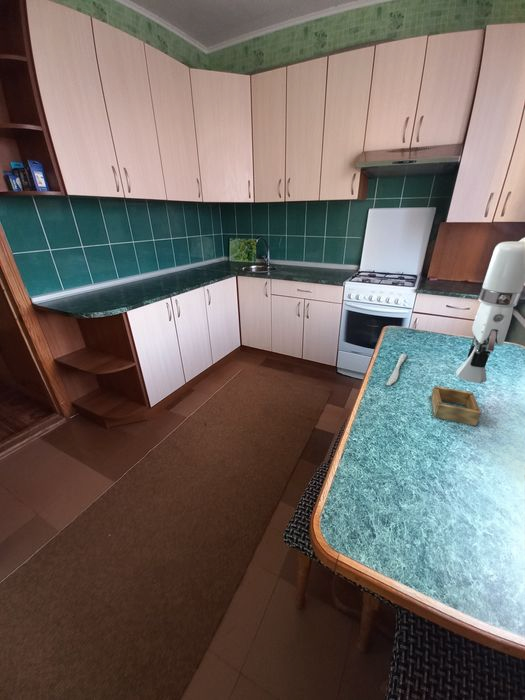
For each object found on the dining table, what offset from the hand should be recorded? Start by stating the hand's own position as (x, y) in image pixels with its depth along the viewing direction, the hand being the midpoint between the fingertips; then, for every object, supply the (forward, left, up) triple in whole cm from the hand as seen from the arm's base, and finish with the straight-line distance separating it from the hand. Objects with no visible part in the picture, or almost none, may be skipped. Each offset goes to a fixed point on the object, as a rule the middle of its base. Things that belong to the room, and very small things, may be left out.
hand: (475, 362), depth 78 cm
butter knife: (+16, -22, -18) cm, 32 cm away
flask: (0, 0, -5) cm, 5 cm away
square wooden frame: (+1, -2, -18) cm, 18 cm away
